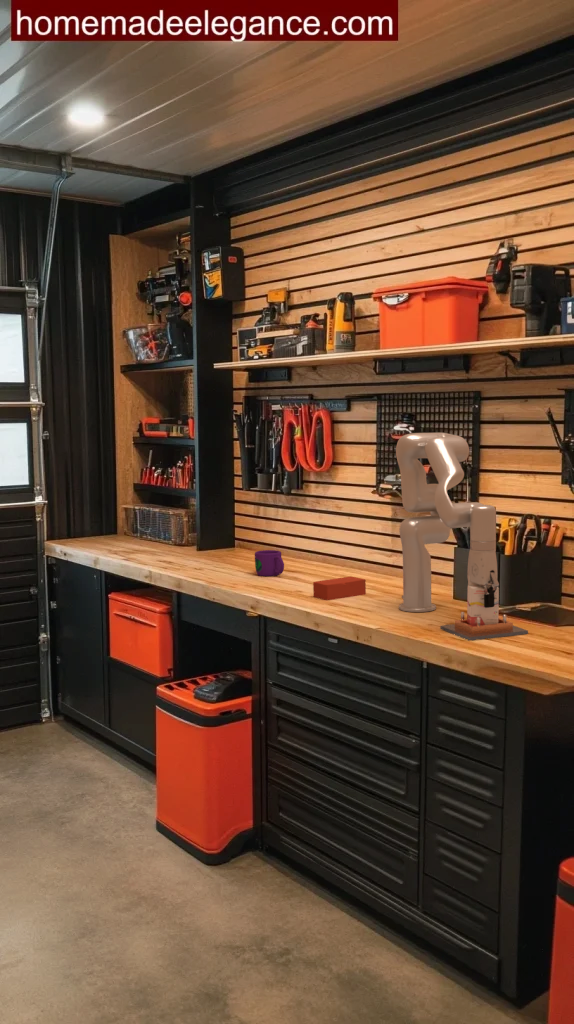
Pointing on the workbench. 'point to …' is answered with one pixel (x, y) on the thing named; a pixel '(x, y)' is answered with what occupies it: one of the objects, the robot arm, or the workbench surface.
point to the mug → (268, 563)
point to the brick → (339, 588)
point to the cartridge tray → (483, 629)
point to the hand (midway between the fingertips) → (483, 604)
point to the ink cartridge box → (481, 605)
